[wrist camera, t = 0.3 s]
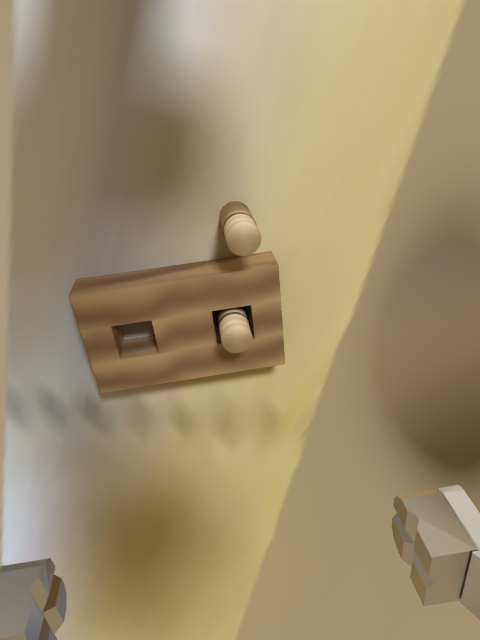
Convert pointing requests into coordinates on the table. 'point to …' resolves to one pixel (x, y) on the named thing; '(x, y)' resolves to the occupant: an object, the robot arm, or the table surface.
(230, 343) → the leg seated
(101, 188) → the table surface
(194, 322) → the board
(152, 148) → the table surface
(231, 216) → the leg
